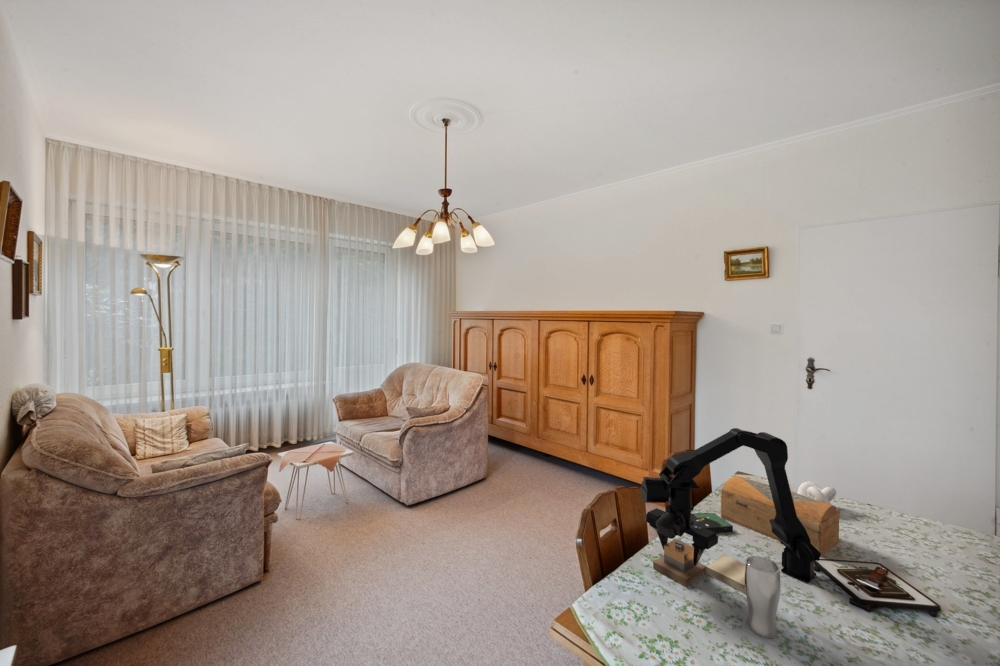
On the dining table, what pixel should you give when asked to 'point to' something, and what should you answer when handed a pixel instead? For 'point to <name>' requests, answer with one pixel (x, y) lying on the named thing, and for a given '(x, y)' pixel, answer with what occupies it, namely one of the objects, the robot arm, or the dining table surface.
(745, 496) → the wooden box
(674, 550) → the block
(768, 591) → the beer glass
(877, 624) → the dining table surface
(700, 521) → the disk drive
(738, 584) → the stand
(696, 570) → the stand
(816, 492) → the white knot sculpture
